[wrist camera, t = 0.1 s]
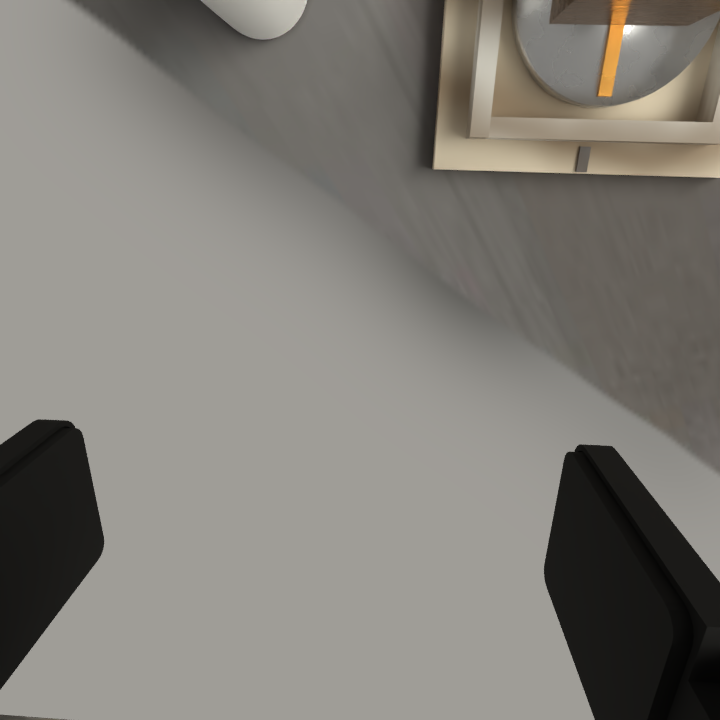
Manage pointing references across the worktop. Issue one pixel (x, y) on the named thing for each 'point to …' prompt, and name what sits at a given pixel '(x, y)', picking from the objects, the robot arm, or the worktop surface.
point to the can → (259, 15)
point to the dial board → (563, 111)
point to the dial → (609, 45)
